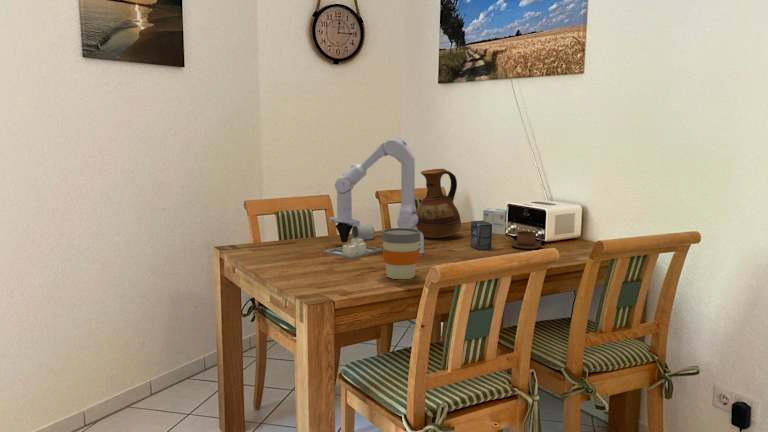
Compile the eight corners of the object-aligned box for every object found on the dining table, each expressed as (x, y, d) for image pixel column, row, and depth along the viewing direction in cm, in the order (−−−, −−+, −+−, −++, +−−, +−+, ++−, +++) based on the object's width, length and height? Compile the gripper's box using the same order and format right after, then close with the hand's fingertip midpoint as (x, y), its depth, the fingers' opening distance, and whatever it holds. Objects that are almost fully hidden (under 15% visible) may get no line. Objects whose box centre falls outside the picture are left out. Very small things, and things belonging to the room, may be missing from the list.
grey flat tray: (382, 253, 229) (382, 248, 229) (350, 261, 215) (350, 256, 215) (355, 248, 238) (355, 243, 237) (323, 255, 224) (323, 251, 224)
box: (470, 246, 242) (470, 220, 240) (482, 246, 244) (483, 220, 242) (478, 250, 235) (479, 224, 233) (491, 249, 236) (492, 223, 235)
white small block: (363, 248, 232) (363, 237, 231) (358, 249, 230) (358, 238, 229) (355, 246, 235) (355, 236, 234) (351, 247, 232) (351, 237, 232)
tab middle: (365, 252, 224) (365, 241, 223) (360, 253, 222) (360, 243, 221) (357, 251, 227) (357, 240, 226) (352, 252, 224) (352, 241, 224)
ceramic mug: (375, 241, 250) (375, 224, 249) (358, 243, 247) (358, 225, 246) (364, 238, 259) (364, 221, 258) (348, 239, 256) (348, 222, 255)
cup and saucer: (536, 244, 248) (536, 230, 247) (545, 251, 236) (545, 235, 235) (507, 244, 247) (508, 230, 246) (514, 251, 235) (515, 235, 234)
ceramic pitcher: (407, 234, 268) (407, 167, 263) (445, 231, 276) (447, 166, 271) (428, 242, 250) (429, 170, 245) (469, 238, 259) (471, 169, 254)
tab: (355, 255, 220) (355, 244, 219) (350, 256, 218) (350, 245, 217) (347, 253, 222) (347, 242, 222) (342, 254, 220) (342, 243, 220)
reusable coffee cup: (397, 269, 203) (397, 226, 201) (427, 276, 196) (428, 230, 193) (373, 277, 194) (373, 231, 191) (404, 283, 186) (404, 236, 184)
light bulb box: (509, 233, 273) (510, 209, 271) (504, 235, 267) (505, 211, 265) (487, 230, 278) (488, 207, 277) (482, 232, 273) (482, 209, 271)
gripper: (323, 207, 236) (324, 241, 238) (350, 211, 227) (351, 246, 229) (336, 205, 241) (336, 238, 243) (363, 209, 232) (363, 243, 234)
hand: (344, 242), depth 236 cm, fingers closed
